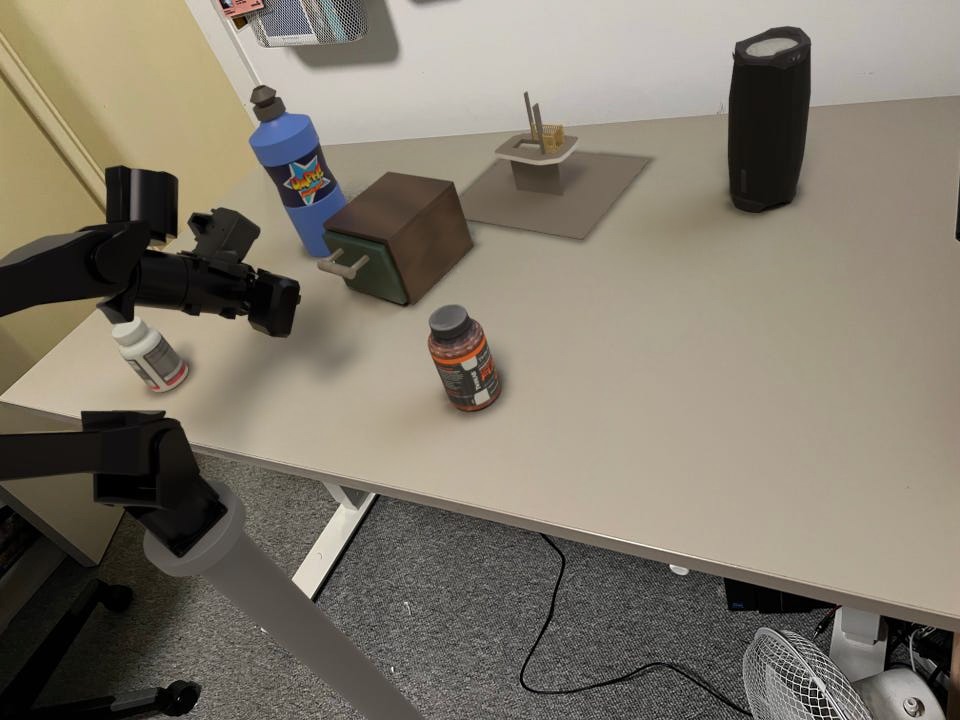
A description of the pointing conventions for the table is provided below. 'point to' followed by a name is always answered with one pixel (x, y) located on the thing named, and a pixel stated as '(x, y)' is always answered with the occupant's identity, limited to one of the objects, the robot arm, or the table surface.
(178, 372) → the pill bottle
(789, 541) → the table surface
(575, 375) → the table surface
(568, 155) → the architectural model
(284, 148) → the water bottle
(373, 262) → the drawer
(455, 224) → the cabinet
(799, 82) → the portable speaker
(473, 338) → the supplement bottle
